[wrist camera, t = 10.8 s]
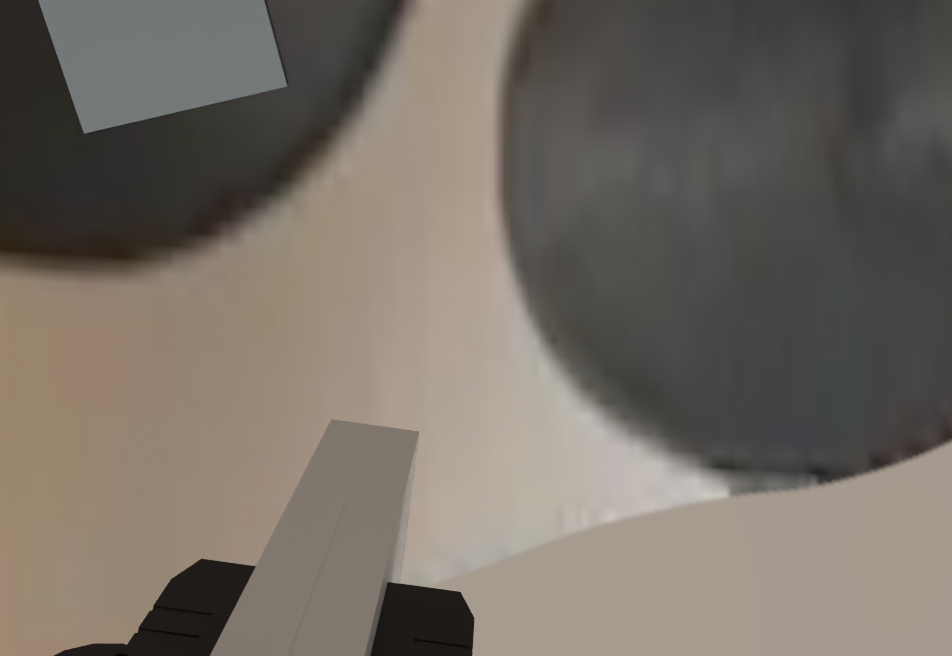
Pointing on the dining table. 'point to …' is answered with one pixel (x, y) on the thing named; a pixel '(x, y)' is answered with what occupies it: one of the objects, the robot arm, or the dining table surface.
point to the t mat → (161, 55)
